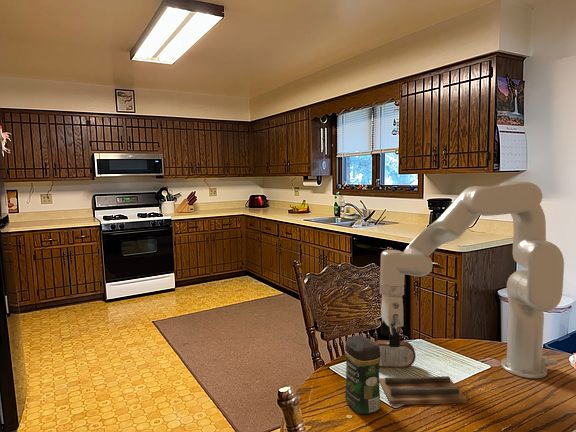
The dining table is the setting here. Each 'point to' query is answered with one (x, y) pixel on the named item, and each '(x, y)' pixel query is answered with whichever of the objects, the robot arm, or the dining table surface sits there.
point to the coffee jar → (362, 374)
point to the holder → (421, 390)
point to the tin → (396, 354)
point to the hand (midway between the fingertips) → (390, 340)
